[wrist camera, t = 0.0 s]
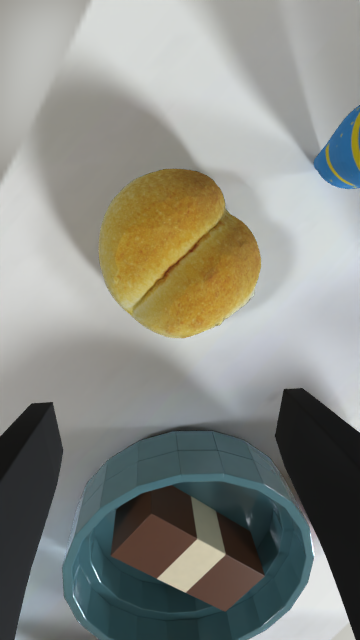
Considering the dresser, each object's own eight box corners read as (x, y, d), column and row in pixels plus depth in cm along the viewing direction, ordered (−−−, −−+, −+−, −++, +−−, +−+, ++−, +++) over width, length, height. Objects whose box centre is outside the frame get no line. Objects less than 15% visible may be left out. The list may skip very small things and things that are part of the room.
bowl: (196, 614, 29) (204, 683, 24) (35, 538, 24) (10, 606, 20) (326, 493, 26) (362, 547, 22) (169, 384, 22) (174, 425, 17)
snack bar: (250, 530, 26) (265, 576, 22) (215, 564, 26) (225, 612, 23) (151, 471, 23) (151, 513, 20) (115, 510, 24) (109, 556, 20)
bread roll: (178, 141, 17) (187, 119, 14) (271, 268, 20) (300, 279, 16) (67, 242, 18) (46, 248, 15) (169, 351, 21) (173, 380, 17)
